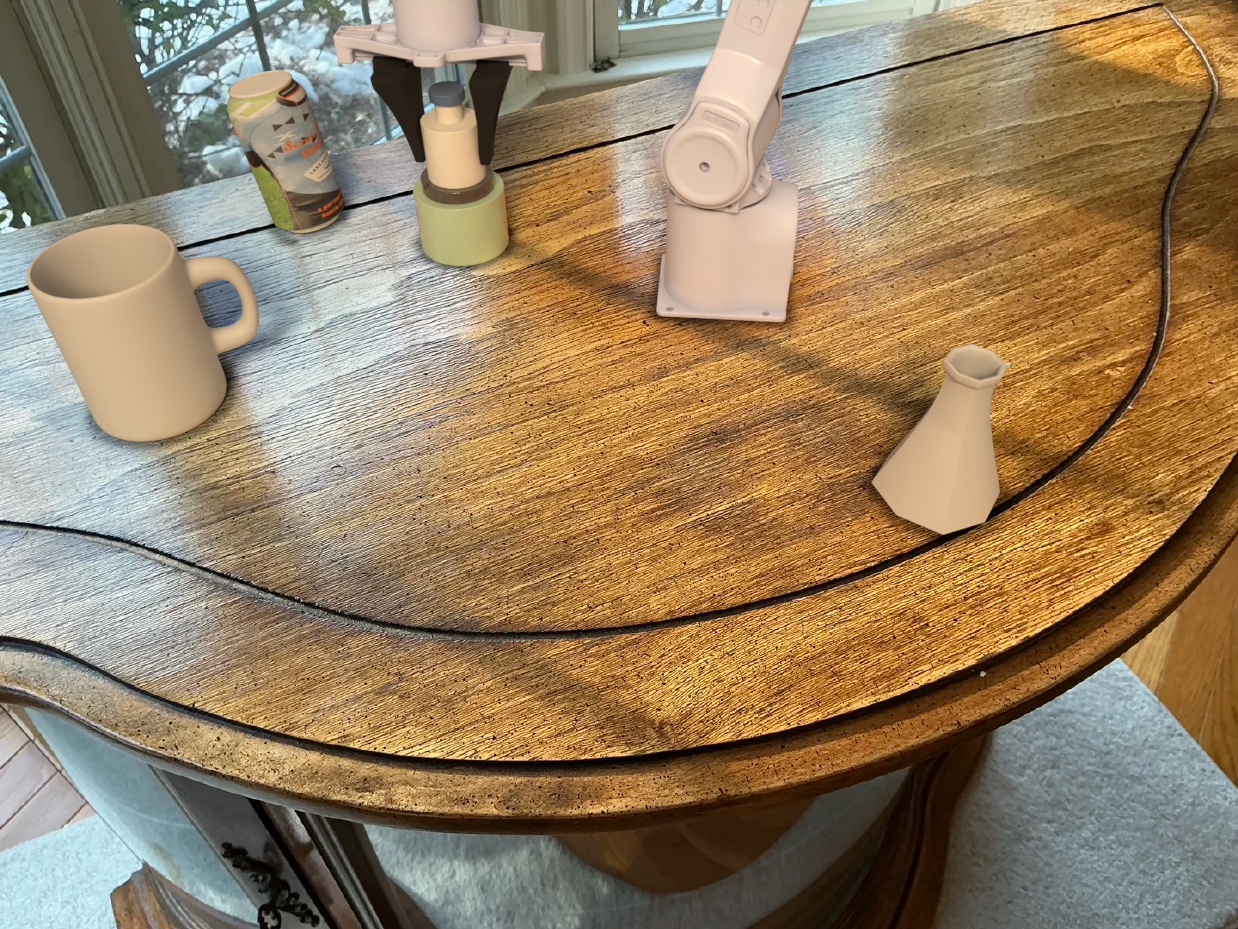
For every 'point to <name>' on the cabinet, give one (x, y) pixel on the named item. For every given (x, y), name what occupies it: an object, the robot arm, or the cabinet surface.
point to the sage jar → (462, 220)
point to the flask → (949, 450)
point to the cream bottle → (451, 138)
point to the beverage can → (285, 151)
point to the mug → (139, 327)
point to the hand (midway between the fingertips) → (454, 157)
